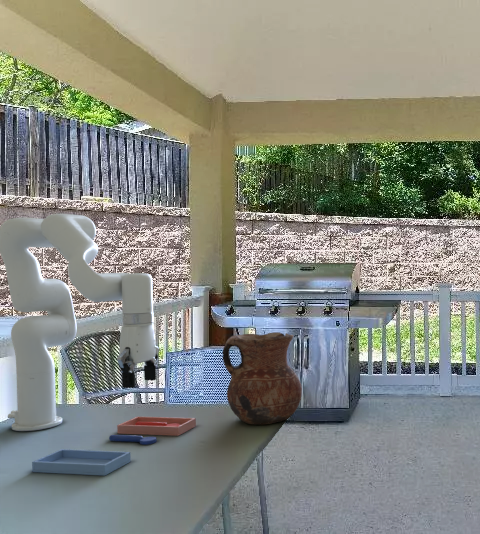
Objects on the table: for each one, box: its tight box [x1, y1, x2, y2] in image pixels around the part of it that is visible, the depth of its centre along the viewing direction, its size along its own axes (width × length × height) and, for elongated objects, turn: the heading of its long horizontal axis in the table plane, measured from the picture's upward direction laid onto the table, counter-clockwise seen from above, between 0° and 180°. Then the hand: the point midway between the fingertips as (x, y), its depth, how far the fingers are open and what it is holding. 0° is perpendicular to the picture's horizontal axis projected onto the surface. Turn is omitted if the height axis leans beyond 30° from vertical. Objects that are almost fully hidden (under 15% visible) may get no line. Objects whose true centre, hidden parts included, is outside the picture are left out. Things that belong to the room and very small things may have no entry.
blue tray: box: [31, 448, 132, 477], centre depth 139 cm, size 18×9×2 cm, turn 80°
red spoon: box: [135, 422, 180, 427], centre depth 168 cm, size 13×4×2 cm, turn 80°
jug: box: [222, 331, 303, 426], centre depth 177 cm, size 22×21×25 cm
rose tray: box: [116, 416, 197, 437], centre depth 168 cm, size 18×9×2 cm, turn 80°
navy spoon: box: [108, 434, 158, 446], centre depth 158 cm, size 13×4×2 cm, turn 80°
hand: (139, 383), depth 161 cm, fingers open, 9 cm apart
